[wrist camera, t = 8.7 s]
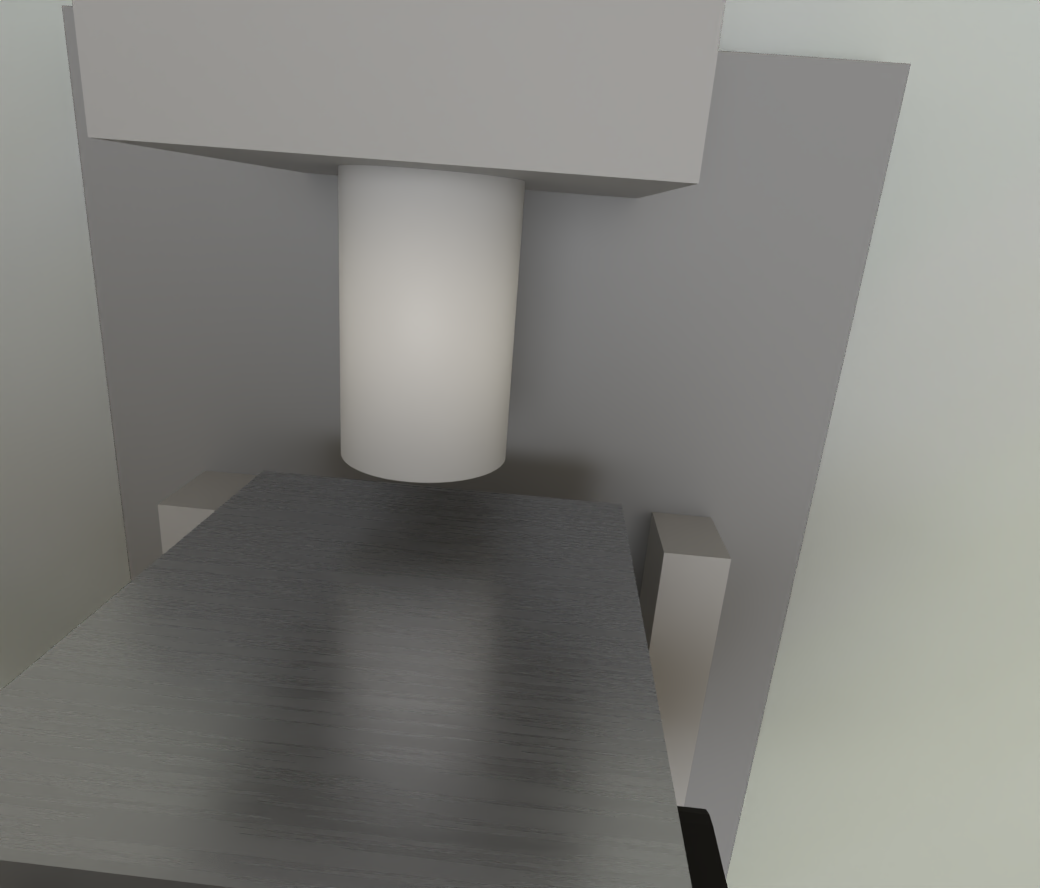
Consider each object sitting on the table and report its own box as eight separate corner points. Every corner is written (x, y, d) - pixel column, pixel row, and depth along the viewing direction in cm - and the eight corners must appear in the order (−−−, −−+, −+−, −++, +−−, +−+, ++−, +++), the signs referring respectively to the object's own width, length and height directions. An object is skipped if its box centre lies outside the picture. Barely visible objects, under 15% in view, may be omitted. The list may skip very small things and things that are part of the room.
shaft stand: (682, 993, 17) (742, 1391, 11) (200, 936, 17) (19, 1292, 12) (878, 78, 10) (1255, -88, 5) (105, 24, 11) (-401, -187, 5)
